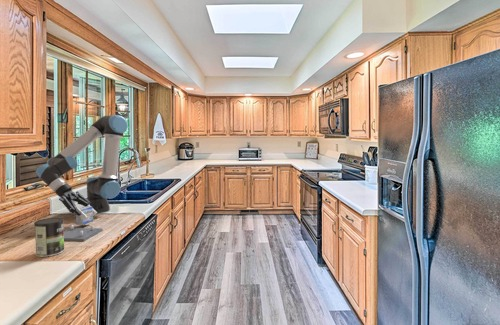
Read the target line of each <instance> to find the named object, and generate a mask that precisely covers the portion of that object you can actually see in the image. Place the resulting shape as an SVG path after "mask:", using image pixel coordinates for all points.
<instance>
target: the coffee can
mask: <svg viewBox="0 0 500 325" xmlns="http://www.w3.org/2000/svg"><path fill="white" fill-rule="evenodd" d="M33 223H34V236H35V237H34V238H35V239H34V240H35V255H36V257H39V258H49V257H54V256H58V255H60V254H62V253H64V252H63V251H65V241H64V218H63V217H47V218H41V219H38V220H35V221H34V222H33ZM57 254H58V255H57ZM53 255H54V256H53ZM48 256H49V257H48Z"/></svg>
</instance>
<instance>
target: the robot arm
mask: <svg viewBox="0 0 500 325" xmlns="http://www.w3.org/2000/svg"><path fill="white" fill-rule="evenodd" d="M128 127H129V125H128V121H127V120H126V118H125V117H123V116H122V115H119V114H112V115H103V116H101V117H100V118H98V119H97V120H96V121H95V122H93V123H92V124H91V125H90V126H89V129H88V130H86V131H84V132H83V134H81V135H80V136H79V137H77V139H75V140H74V141H73V142H71V143H70V144H68V145H67V147H65V148H64V149H63V150H62V151H60V152H59V153H57V154H56V155H55V156H54V157H50V158H47V161H46V163H44V164H42V165H40V166H38V167H37V169H36V170H35V174H36V175H37V176H38V178H39V179H40V180H41V181H43V183H45V185H47V186H48V187H49V188H50V189H51V190H52V191H53V192H55V194H56V195H57V196H58V197H59V198H58V200H59V201H60V202H61V203H62V204H63V205H64V207H65V208H66V209H67V210H68V211H69V213H71V214H75V215H76V214H77V215H78V216H79V217H80V218H81V219H82V220H83V221H84V220H85V219H86V218H87V216H86V215H85V214H84V213H83V212H82V211H81V210H80V209H79V208H77V205H76V203H78V204H80V205H81V206H83V207H85V206H92V207H93V217H94V216H95V215H96V214H98V213H105V212H108V211H110V210H111V207H110V204H109V201H108V199H111V200H112V199H114V198H116V197H117V196H118V195H119V194H120V192H121V184H120V183H119V177H118V176H117V170H118V161H119V153H120V146H121V145H120V144H121V139H123V138H124V134H125V132H126V131H127V130H128ZM103 136H104V137H105V143H104V152H103V159H102V167H101V174H100V175H99V176H96V177H95V176H93V177H88V178H87V179H86V197H85V196H83V195H82V194H81V193H80V192H79V191H78V190H76V192H75V191H73V188H72V186H71V185H70V184H69V183H67V182H66V181H65V179H64V178H63V177H61V176H64V175H65V174H66V173H68V172H70V171H72V170H74V169H75V168H76V167H78V161H77V160H76V159H75V158H76V157H77V156H78V155H79V154H81V153H82V152H83V151H84V150H85V149H87V148H88V147H89V146H90V145H92V144H93V143H95V141H96V140H97V139H98V138H102V137H103ZM75 202H76V203H75Z"/></svg>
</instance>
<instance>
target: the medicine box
mask: <svg viewBox="0 0 500 325" xmlns="http://www.w3.org/2000/svg"><path fill="white" fill-rule="evenodd" d="M78 209H80V210H81V211H82V212H83V213H84V214H85V215H86V216H87V218H86V219H85V220H84V221H83V220H82V219H81V218H80V217H79V216H78V215H77V214H76V213H75V218H76V219H75V224H76V225H79V226H80V225H81V226H84V225H87V224H90V223H92V222H94V216H93V207H92V206H83V207H79V208H78Z"/></svg>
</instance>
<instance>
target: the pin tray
mask: <svg viewBox="0 0 500 325" xmlns="http://www.w3.org/2000/svg"><path fill="white" fill-rule="evenodd" d="M63 230H64V229H63ZM103 231H104V229H103V228H98V227H97V228H95V227H94V225H90V227H86V228H85V227H74V224H70V227H68V228H66V229H65V230H64V242H66V241H67V242H86V241H87V240H89V239H91V238H92V237H93V238H94V237H95V236H96V235H98V234H100V233H101V232H103Z"/></svg>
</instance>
